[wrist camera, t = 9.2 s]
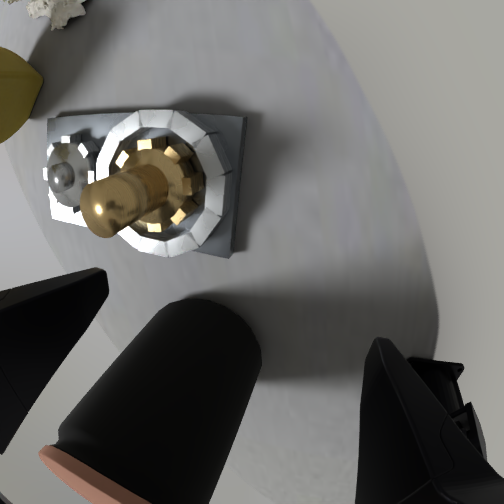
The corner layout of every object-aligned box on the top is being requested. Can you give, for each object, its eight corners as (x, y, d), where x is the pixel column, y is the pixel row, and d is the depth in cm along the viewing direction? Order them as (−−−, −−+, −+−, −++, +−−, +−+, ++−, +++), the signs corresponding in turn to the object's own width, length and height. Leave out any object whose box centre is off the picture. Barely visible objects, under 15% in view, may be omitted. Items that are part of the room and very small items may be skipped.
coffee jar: (151, 347, 30) (52, 475, 14) (172, 270, 25) (19, 428, 9) (240, 395, 30) (174, 545, 14) (285, 329, 25) (213, 544, 9)
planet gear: (200, 133, 19) (138, 145, 13) (207, 224, 21) (156, 270, 15) (124, 141, 20) (55, 158, 14) (134, 220, 23) (75, 258, 17)
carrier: (247, 114, 19) (236, 113, 16) (233, 255, 23) (222, 270, 21) (55, 115, 22) (35, 118, 20) (59, 217, 27) (42, 225, 24)
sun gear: (105, 133, 21) (82, 136, 18) (106, 213, 23) (86, 224, 21) (53, 134, 22) (32, 139, 19) (57, 204, 25) (37, 213, 22)
